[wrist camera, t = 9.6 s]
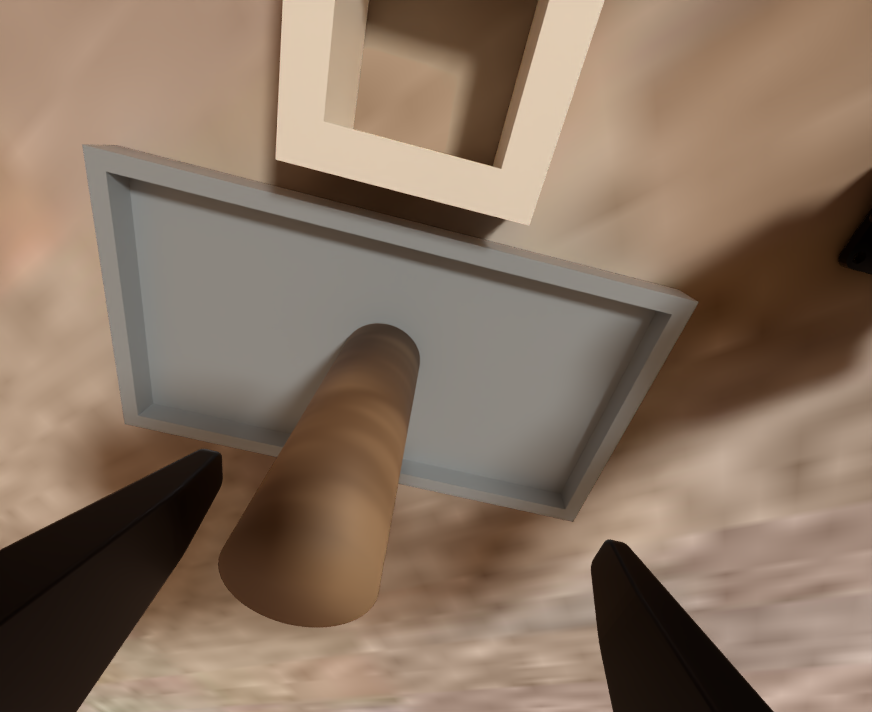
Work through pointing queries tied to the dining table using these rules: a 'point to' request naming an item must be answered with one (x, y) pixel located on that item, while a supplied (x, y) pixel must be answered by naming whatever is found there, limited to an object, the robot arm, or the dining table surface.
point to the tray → (361, 305)
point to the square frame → (409, 164)
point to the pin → (330, 491)
